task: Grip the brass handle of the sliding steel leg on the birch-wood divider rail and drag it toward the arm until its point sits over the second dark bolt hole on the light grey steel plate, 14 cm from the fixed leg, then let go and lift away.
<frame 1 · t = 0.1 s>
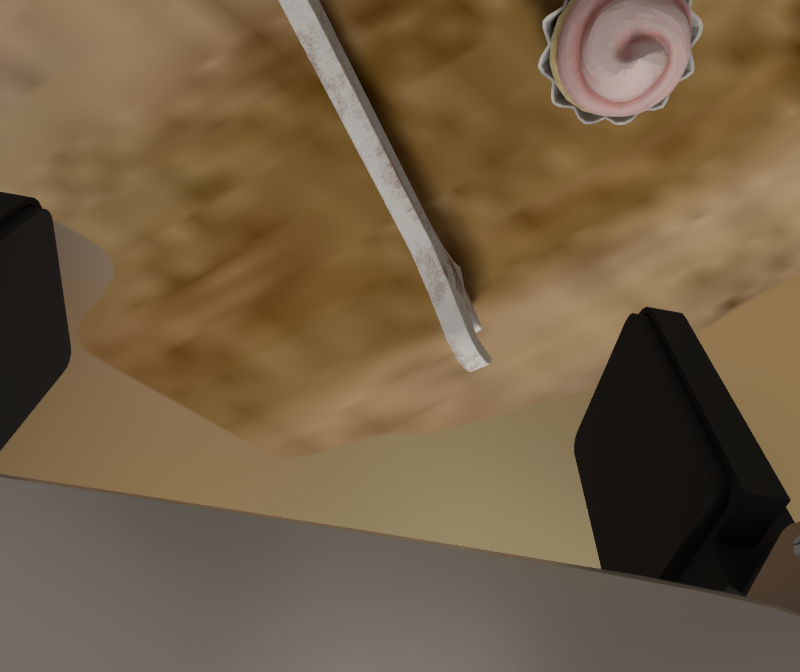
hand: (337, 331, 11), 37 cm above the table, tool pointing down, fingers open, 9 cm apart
wrench: (395, 167, 48), on the table
cupcake: (601, 30, 42), on the table
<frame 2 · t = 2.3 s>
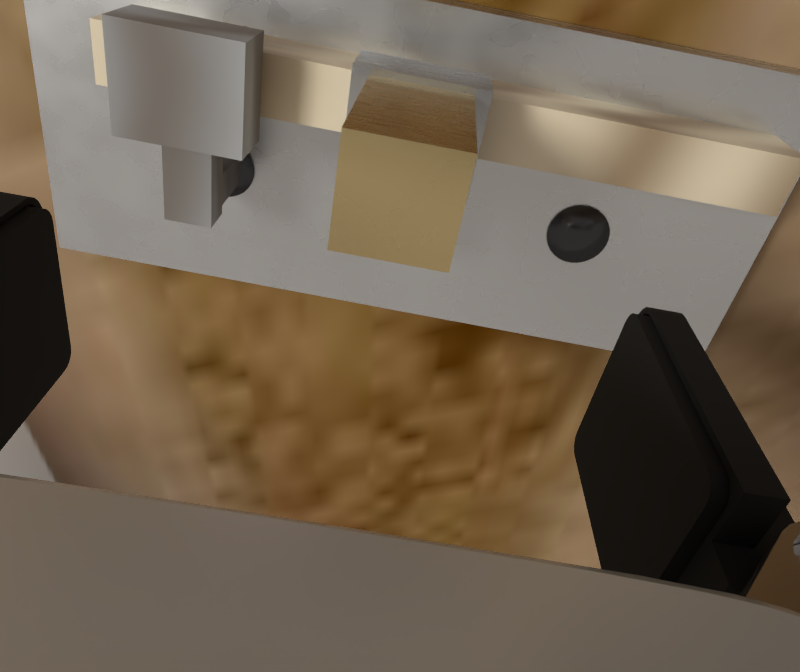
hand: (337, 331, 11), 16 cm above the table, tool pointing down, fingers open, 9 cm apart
bolt plate: (409, 162, 26), on the table
divider frame: (449, 90, 24), resting on bolt plate
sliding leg: (403, 188, 20), point 7 cm above the table, slide at 7.0 cm
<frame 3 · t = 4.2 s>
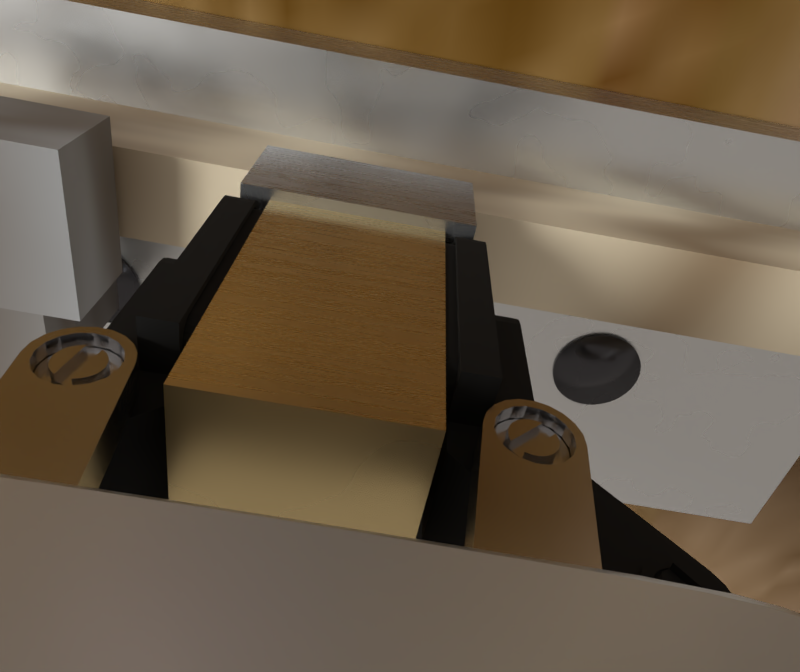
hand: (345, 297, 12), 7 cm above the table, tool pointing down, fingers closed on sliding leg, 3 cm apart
bolt plate: (361, 270, 19), on the table
divider frame: (414, 177, 17), resting on bolt plate
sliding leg: (335, 365, 12), point 7 cm above the table, slide at 7.0 cm, touching gripper
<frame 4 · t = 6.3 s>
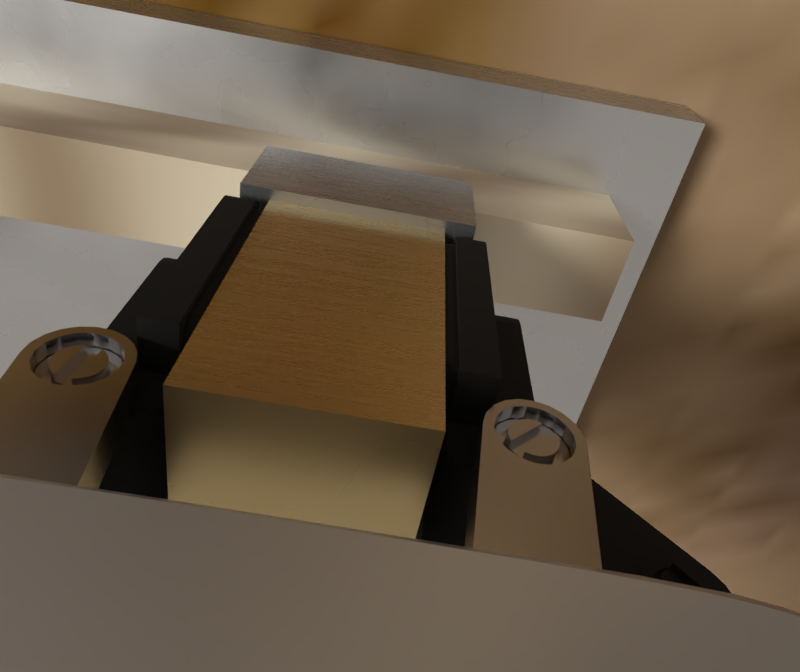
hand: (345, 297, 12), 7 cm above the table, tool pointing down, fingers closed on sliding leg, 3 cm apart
bolt plate: (120, 228, 18), on the table
divider frame: (150, 129, 17), resting on bolt plate
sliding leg: (335, 365, 12), point 7 cm above the table, slide at 0.1 cm, touching gripper
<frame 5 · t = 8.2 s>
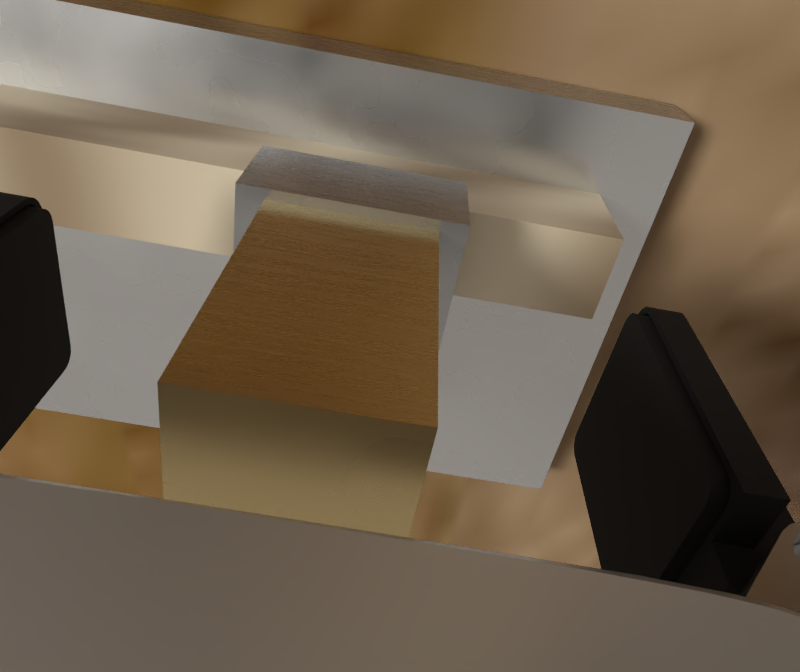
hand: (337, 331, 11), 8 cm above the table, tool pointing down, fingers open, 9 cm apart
bolt plate: (113, 227, 18), on the table
divider frame: (143, 129, 17), resting on bolt plate
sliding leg: (330, 364, 12), point 7 cm above the table, slide at 0.0 cm
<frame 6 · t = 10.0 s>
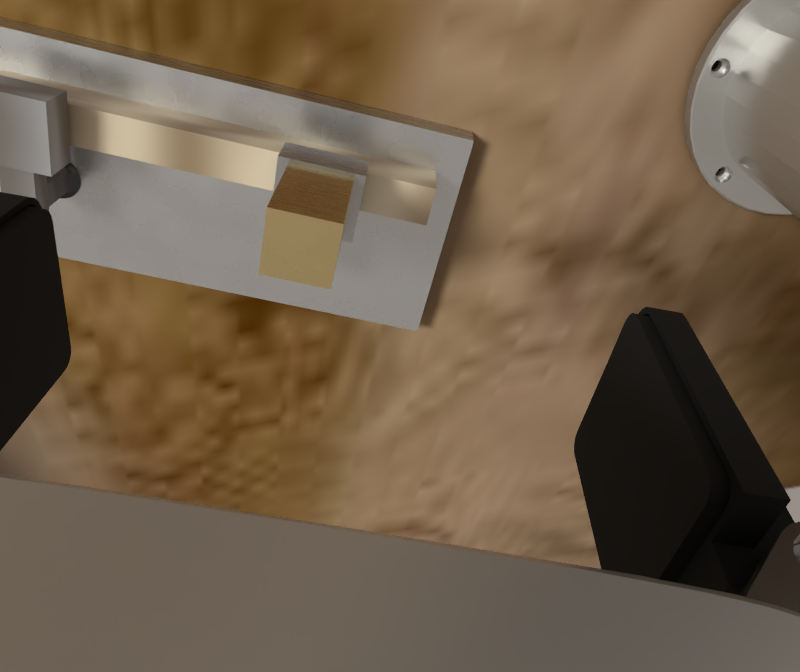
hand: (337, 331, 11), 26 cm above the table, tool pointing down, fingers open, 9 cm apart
bolt plate: (198, 178, 36), on the table
divider frame: (220, 129, 35), resting on bolt plate
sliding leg: (310, 232, 31), point 7 cm above the table, slide at 0.0 cm
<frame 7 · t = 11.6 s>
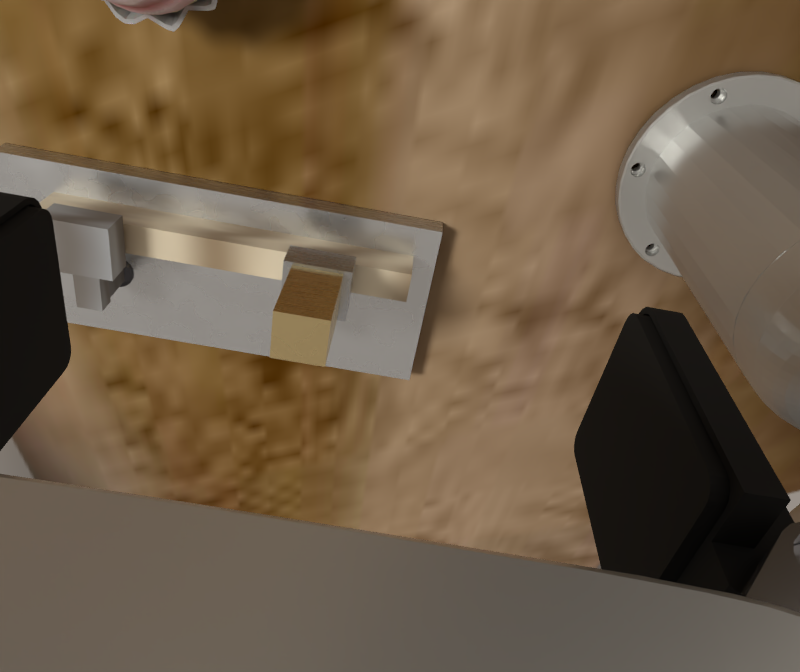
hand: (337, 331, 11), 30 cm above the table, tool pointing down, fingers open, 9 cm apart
bolt plate: (225, 265, 45), on the table
divider frame: (241, 228, 43), resting on bolt plate
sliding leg: (312, 315, 39), point 7 cm above the table, slide at 0.0 cm
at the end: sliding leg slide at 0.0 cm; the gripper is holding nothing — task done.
